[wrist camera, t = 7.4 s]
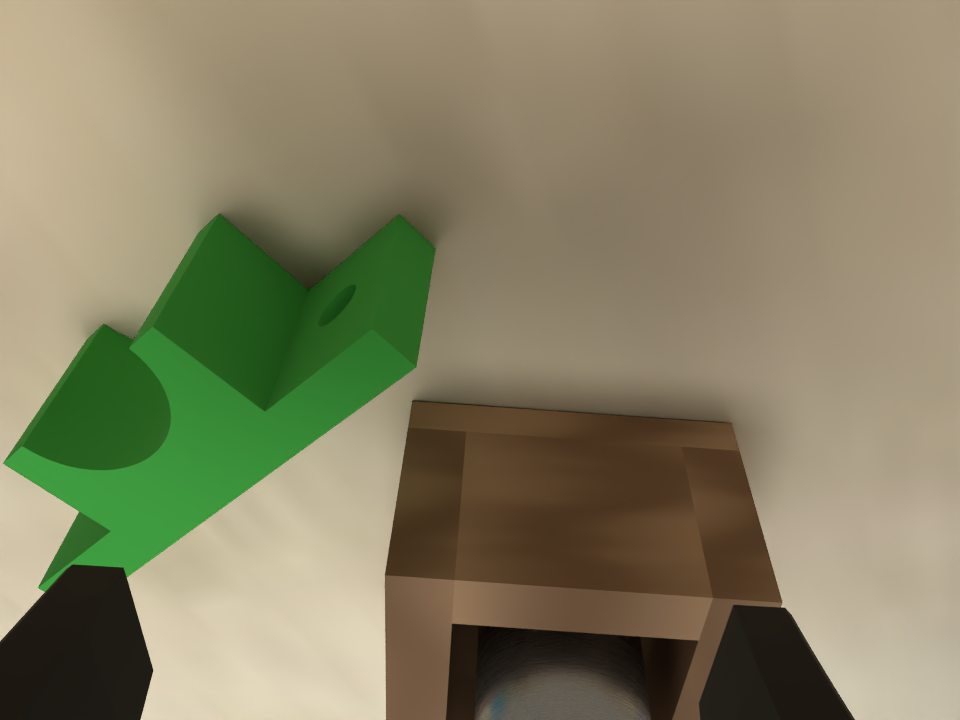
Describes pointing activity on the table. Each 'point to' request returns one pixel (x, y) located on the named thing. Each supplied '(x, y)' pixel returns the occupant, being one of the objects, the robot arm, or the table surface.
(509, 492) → the socket
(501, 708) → the peg
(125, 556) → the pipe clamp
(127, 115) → the table surface
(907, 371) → the table surface
